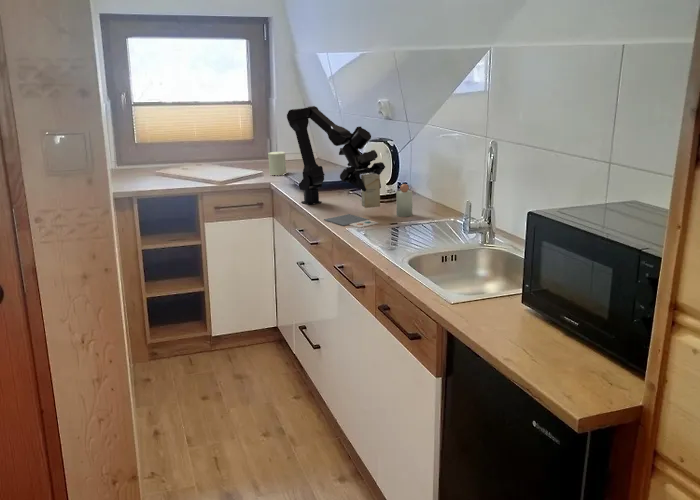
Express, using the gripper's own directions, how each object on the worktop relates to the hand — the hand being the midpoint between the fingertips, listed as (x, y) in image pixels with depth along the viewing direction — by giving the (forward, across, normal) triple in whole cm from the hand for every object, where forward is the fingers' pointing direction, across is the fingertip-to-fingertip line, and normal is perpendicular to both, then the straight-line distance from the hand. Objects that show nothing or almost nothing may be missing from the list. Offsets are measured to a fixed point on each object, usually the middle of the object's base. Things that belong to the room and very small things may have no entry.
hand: (372, 189), depth 235 cm
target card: (+13, -11, +2) cm, 17 cm away
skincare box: (+4, 0, +6) cm, 7 cm away
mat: (+6, -12, +8) cm, 16 cm away
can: (-67, +24, +83) cm, 110 cm away
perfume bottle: (+13, +9, +2) cm, 16 cm away
